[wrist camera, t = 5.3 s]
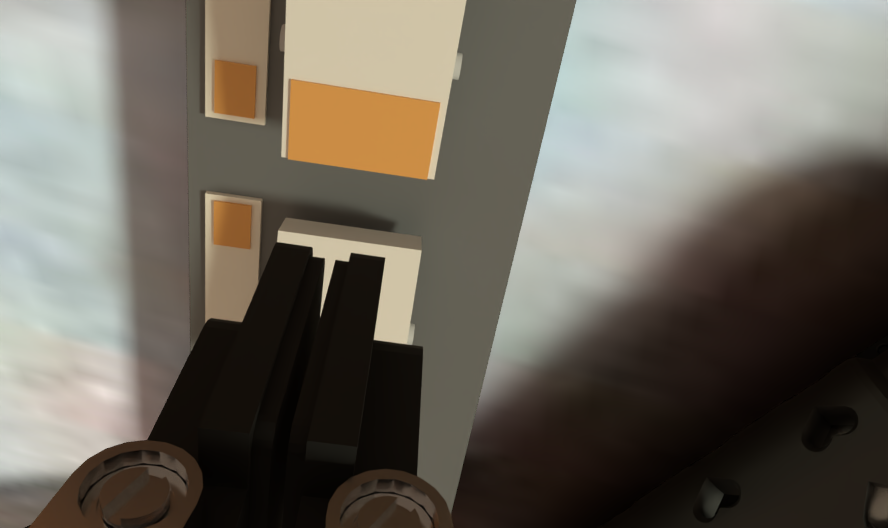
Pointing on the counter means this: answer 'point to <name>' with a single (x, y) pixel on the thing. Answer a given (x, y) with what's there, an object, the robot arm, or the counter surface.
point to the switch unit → (376, 188)
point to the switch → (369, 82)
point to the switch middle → (394, 247)
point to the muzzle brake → (791, 463)
